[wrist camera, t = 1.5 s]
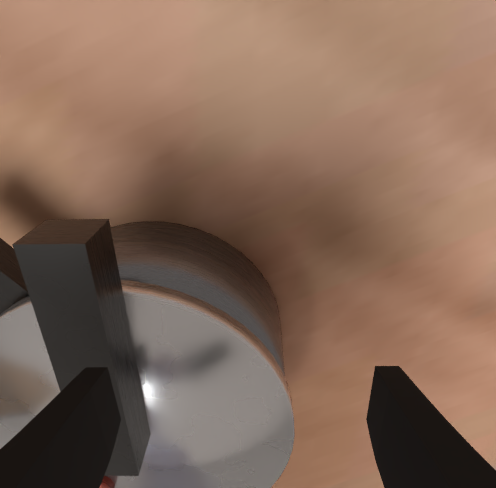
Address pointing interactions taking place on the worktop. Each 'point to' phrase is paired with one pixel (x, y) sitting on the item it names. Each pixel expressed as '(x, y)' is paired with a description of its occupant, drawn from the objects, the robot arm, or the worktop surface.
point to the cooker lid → (143, 367)
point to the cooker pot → (179, 274)
